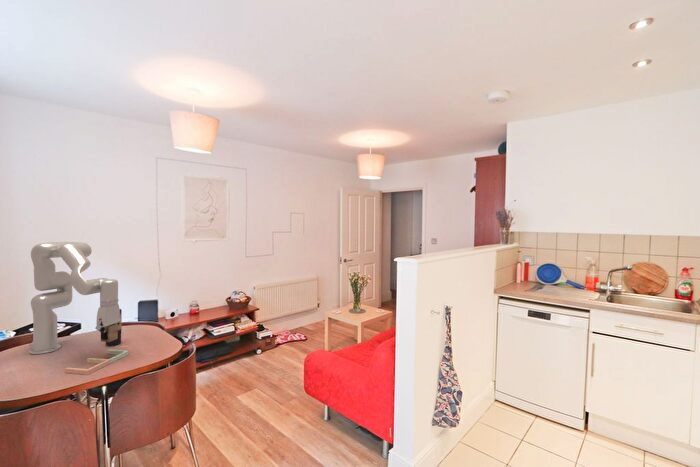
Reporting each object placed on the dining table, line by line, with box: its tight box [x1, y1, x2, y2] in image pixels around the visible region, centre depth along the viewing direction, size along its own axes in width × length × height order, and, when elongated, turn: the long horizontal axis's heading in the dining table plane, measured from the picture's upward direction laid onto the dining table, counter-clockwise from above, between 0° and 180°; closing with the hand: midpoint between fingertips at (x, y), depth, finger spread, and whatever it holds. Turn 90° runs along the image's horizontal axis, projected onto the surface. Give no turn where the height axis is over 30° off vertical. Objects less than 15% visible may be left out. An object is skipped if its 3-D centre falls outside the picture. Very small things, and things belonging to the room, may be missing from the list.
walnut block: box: [100, 324, 118, 343], centre depth 164 cm, size 5×5×8 cm
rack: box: [64, 348, 130, 376], centre depth 159 cm, size 12×24×2 cm, turn 174°
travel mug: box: [105, 308, 123, 347], centre depth 183 cm, size 8×8×20 cm
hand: (109, 337), depth 164 cm, fingers closed on walnut block, 5 cm apart
